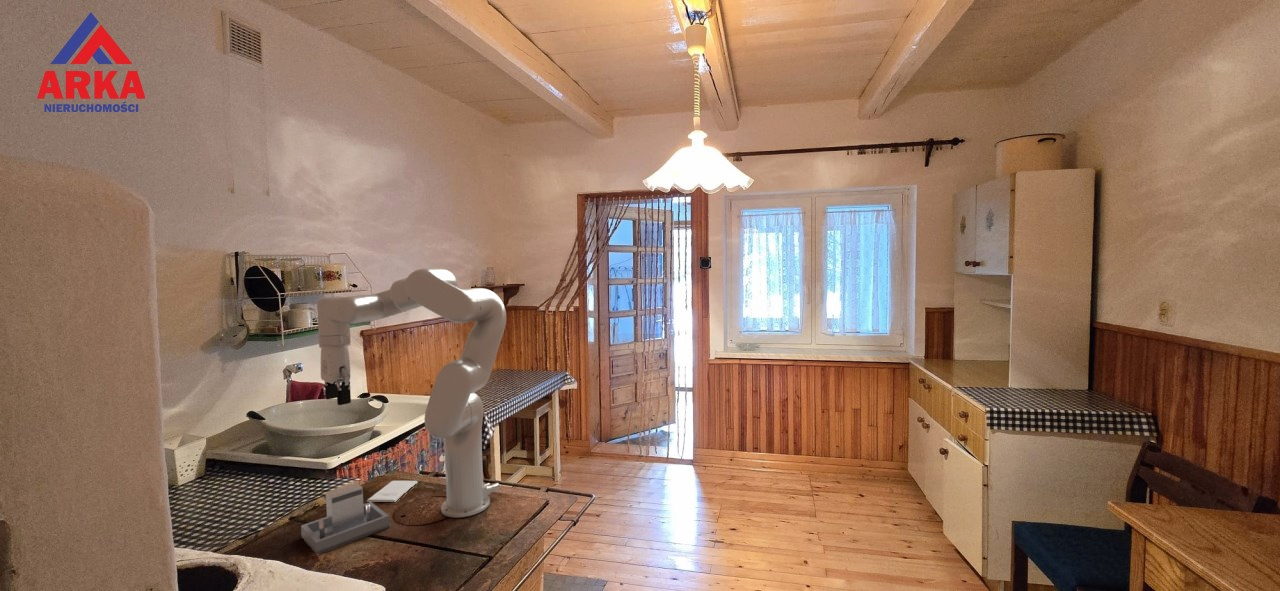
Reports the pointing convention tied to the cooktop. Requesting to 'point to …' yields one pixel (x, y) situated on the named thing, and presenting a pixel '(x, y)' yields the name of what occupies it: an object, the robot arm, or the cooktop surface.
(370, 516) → the tray
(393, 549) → the cooktop surface
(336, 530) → the block
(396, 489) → the external hard drive
